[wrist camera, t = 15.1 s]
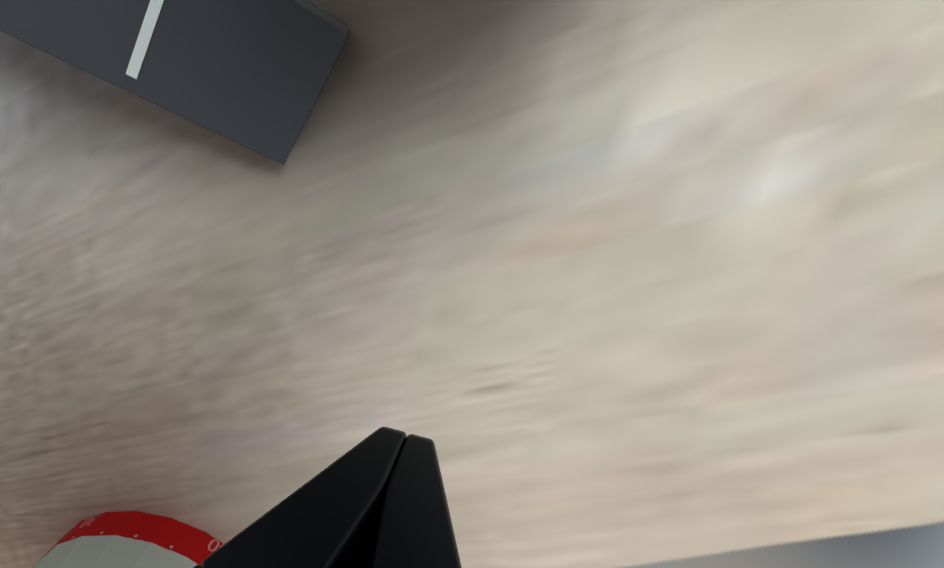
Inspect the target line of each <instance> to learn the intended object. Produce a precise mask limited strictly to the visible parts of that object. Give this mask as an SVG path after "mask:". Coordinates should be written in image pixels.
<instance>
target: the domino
mask: <svg viewBox="0 0 944 568" xmlns="http://www.w3.org/2000/svg"><path fill="white" fill-rule="evenodd" d="M0 31H2V32H5V33H7V34H9V35H11V36H13V37H15V38H17V39H19V40H21V41H23V42H26V43H28V44H30V45H32V46H34V47H36V48H38V49H40V50H42V51H45V52H47V53H49V54H51V55H53V56H55V57H57V58H59V59H61V60H64V61H66V62H68V63H70V64H72V65H74V66H76V67H78V68H80V69H82V70H85V71H87V72H89V73H91V74H93V75H95V76H97V77H99V78H101V79H104V80H106V81H108V82H110V83H112V84H114V85H116V86H118V87H120V88H123V89H125V90H127V91H129V92H131V93H133V94H135V95H137V96H139V97H142V98H144V99H146V100H148V101H150V102H152V103H154V104H156V105H158V106H160V107H163V108H165V109H167V110H169V111H171V112H173V113H175V114H177V115H179V116H182V117H184V118H186V119H188V120H190V121H192V122H194V123H196V124H198V125H201V126H203V127H205V128H207V129H209V130H211V131H213V132H215V133H217V134H219V135H222V136H224V137H226V138H228V139H230V140H232V141H234V142H236V143H238V144H241V145H243V146H245V147H247V148H249V149H251V150H253V151H255V152H257V153H260V154H262V155H264V156H266V157H268V158H270V159H272V160H274V161H276V162H278V163H281V164H283V165H284V163H285V161H286V159H287V157H288V155H289V153H290V151H291V149H292V147H293V145H294V143H295V141H296V139H297V137H298V135H299V133H300V131H301V129H302V127H303V125H304V123H305V121H306V119H307V117H308V115H309V113H310V111H311V109H312V107H313V105H314V103H315V101H316V99H317V97H318V95H319V93H320V91H321V89H322V87H323V85H324V83H325V81H326V79H327V77H328V75H329V73H330V71H331V69H332V67H333V65H334V63H335V61H336V59H337V57H338V55H339V53H340V51H341V49H342V47H343V45H344V43H345V41H346V39H347V37H348V27H347V25H345V24H344V23H342V22H341V21H339V20H338V19H336V18H334V17H333V16H331V15H330V14H328V13H327V12H325V11H323V10H322V9H320V8H319V7H317V6H316V5H314V4H312V3H311V2H309V1H308V0H0Z"/></svg>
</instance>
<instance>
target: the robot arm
mask: <svg viewBox="0 0 944 568" xmlns="http://www.w3.org/2000/svg"><path fill="white" fill-rule="evenodd" d="M193 568H461V563H460V558H459V554H458V549H457V545H456V540H455V536H454V531H453V526H452V522H451V517H450V513H449V508H448V504H447V499H446V494H445V490H444V485H443V481H442V476H441V472H440V467H439V462H438V458H437V453H436V449H435V444H434V442H433V441H432V440H431V439H428V438H425V437H421V436H417V435H414V434H410V435H408V436H406V433H405V432H403V431H399V430H395V429H392V428H388V427H381V428H379V429H378V430H376V431H375V432H374V433H372V434H371V435H370V436H368V437H367V438H366V439H364V440H363V441H362V442H360V443H359V444H358V445H356V446H355V447H354V448H352V449H351V450H350V451H348V452H347V453H346V454H344V455H343V456H342V457H340V458H339V459H338V460H336V461H335V462H334V463H332V464H331V465H330V466H328V467H327V468H326V469H324V470H323V471H322V472H320V473H319V474H318V475H316V476H315V477H314V478H312V479H311V480H310V481H308V482H307V483H306V484H304V485H303V486H302V487H300V488H299V489H298V490H296V491H295V492H294V493H292V494H291V495H290V496H288V497H287V498H286V499H284V500H283V501H282V502H280V503H279V504H278V505H276V506H275V507H274V508H272V509H271V510H270V511H268V512H267V513H266V514H264V515H263V516H262V517H260V518H259V519H258V520H256V521H255V522H254V523H252V524H251V525H250V526H248V527H247V528H246V529H244V530H243V531H242V532H240V533H239V534H238V535H236V536H235V537H234V538H232V539H231V540H230V541H228V542H227V543H226V544H224V545H223V546H222V547H220V548H219V549H218V550H216V551H215V552H214V553H212V554H211V555H210V556H208V557H207V558H206V559H204V560H203V563H202V565H200V564H198V565H196V566H194V567H193Z"/></svg>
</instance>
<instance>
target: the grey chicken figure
mask: <svg viewBox="0 0 944 568" xmlns="http://www.w3.org/2000/svg"><path fill="white" fill-rule="evenodd" d="M223 545H224V544H222V543H221V542H219V541H218V540H216V539H215V538H213V537H212V536H210V535H209V534H207V533H206V532H204V531H201V530H199V529H196V528H194V527H191V526H189V525H187V524H184V523H182V522H179V521H177V520H175V519H172V518H168V517H163V516H158V515H153V514H148V513H143V512H138V511H131V512H106V513H103V514H100V515H97V516H94V517H91V518H88V519H85V520H83V521H81V522H80V523H78V524H77V525H76V526H75V527H74V528H73V529H72V530H71V531H70V532H69V533H67V534H66V535H65V536H64V537H63V538H62V539H61V540H60V541H59V542H58V543H57V544H56V545H55V546H54V547H53V548H52V549H51V550H50V551H49V552H48V553H47V554H46V555H45V556H44V557H43V558H42V559H41V560H40V561H39V562H38V563H37V565H36V566H35V567H34V568H193V567H194V566H196V565H198V564H200V565H202V563H203V560H204V559H206V558H207V557H208V556H210V555H211V554H212V553H214V552H215V551H216V550H218V549H219V548H220V547H222V546H223Z"/></svg>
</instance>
